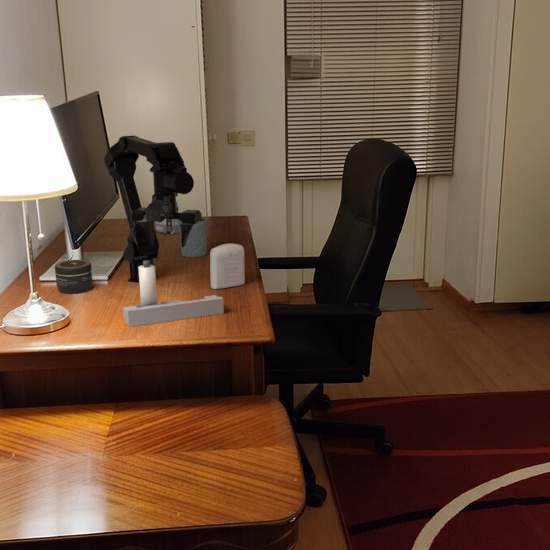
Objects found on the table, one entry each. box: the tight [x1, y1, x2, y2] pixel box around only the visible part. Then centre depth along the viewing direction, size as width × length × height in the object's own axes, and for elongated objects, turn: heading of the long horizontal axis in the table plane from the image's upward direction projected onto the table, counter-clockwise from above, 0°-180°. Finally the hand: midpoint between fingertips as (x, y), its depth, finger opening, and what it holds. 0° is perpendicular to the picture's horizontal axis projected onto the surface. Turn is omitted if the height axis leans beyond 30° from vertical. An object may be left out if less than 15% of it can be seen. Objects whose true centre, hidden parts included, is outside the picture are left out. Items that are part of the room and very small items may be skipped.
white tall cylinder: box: [138, 260, 158, 306], centre depth 170 cm, size 4×4×14 cm
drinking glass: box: [178, 217, 209, 258], centre depth 232 cm, size 10×10×12 cm
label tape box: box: [155, 201, 179, 235], centre depth 265 cm, size 9×4×12 cm, turn 55°
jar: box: [54, 259, 93, 295], centre depth 194 cm, size 10×10×8 cm
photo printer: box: [209, 243, 246, 290], centre depth 195 cm, size 10×4×12 cm, turn 123°
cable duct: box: [122, 294, 225, 328], centre depth 172 cm, size 24×6×4 cm, turn 113°
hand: (167, 246), depth 189 cm, fingers open, 9 cm apart
